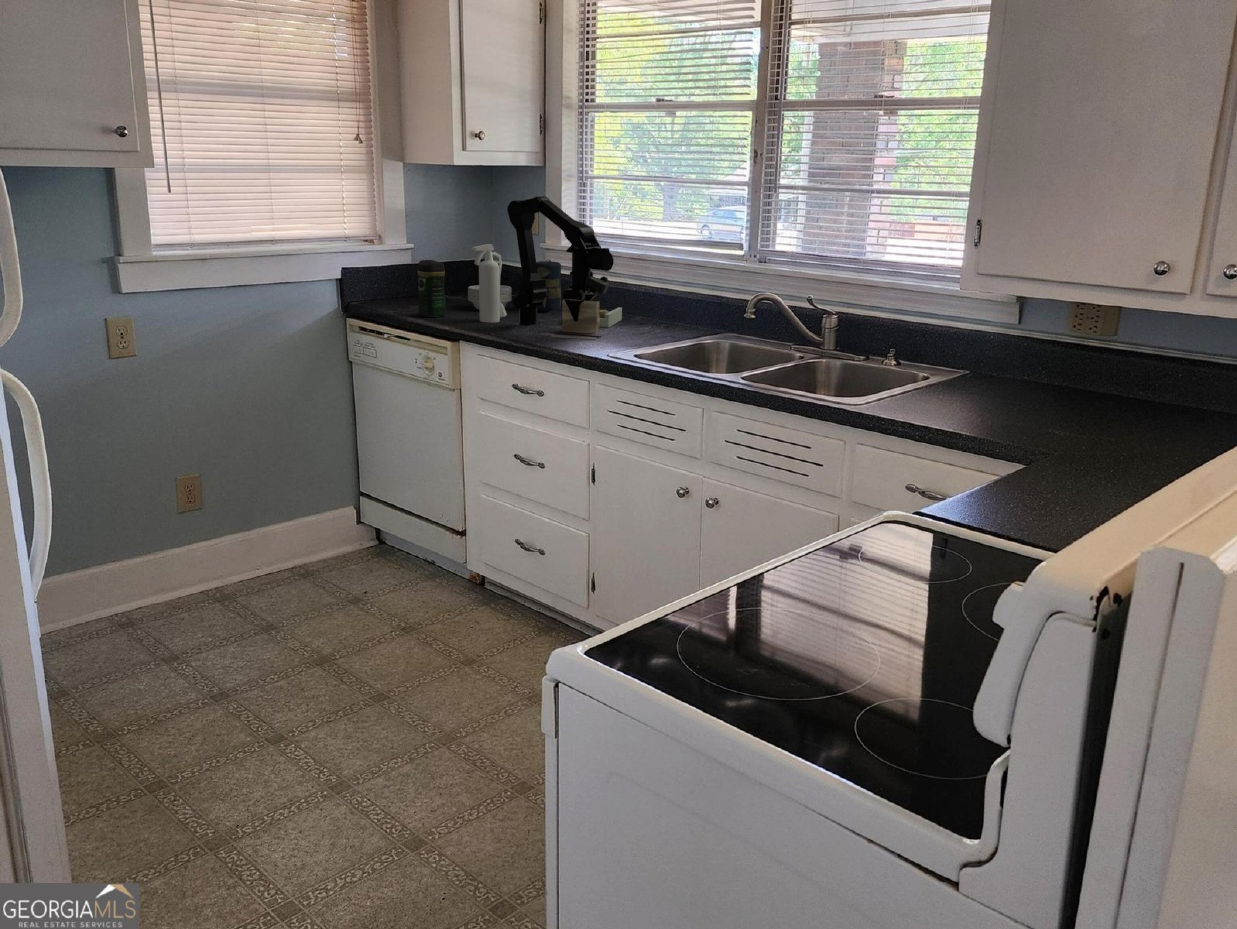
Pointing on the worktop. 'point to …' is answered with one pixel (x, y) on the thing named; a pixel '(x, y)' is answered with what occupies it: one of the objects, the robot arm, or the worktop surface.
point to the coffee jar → (431, 288)
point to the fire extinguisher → (489, 285)
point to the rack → (611, 318)
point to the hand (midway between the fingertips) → (580, 319)
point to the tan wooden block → (582, 318)
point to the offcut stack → (602, 313)
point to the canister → (550, 284)
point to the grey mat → (576, 336)
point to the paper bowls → (504, 297)
